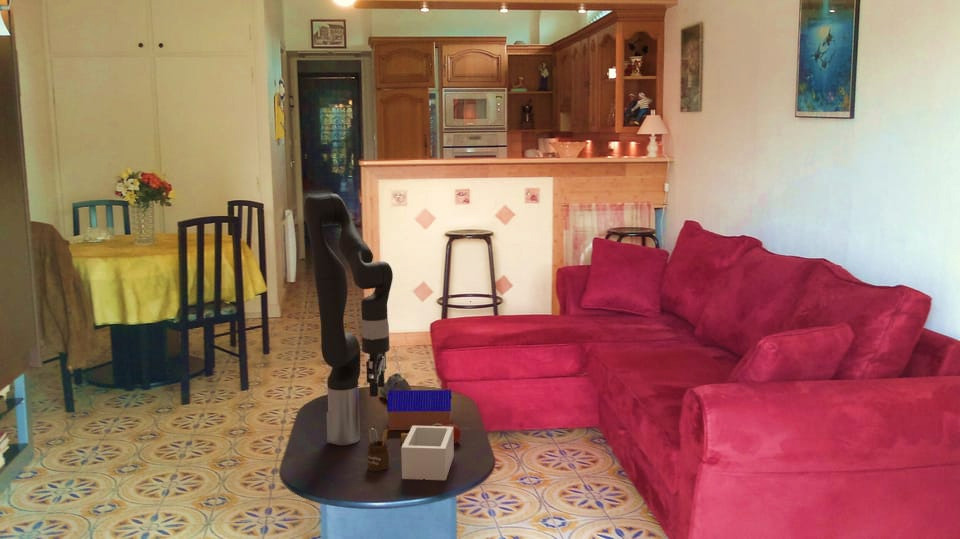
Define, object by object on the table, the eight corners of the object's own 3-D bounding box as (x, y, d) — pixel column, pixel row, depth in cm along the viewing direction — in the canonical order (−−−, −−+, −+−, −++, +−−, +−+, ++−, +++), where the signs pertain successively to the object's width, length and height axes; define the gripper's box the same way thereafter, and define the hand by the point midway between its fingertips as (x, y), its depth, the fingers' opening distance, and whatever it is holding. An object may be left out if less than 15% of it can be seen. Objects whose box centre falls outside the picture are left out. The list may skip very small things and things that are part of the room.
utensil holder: (377, 461, 239) (376, 421, 237) (394, 466, 236) (393, 426, 234) (363, 468, 234) (362, 427, 232) (379, 473, 231) (378, 432, 229)
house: (450, 431, 264) (450, 395, 262) (387, 431, 264) (386, 396, 262) (451, 418, 276) (451, 384, 274) (391, 418, 276) (390, 384, 274)
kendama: (401, 452, 250) (460, 445, 249) (398, 431, 250) (457, 424, 249) (405, 447, 257) (462, 440, 256) (402, 427, 258) (460, 419, 256)
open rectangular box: (402, 478, 227) (401, 447, 226) (413, 454, 244) (412, 425, 243) (445, 480, 226) (445, 448, 225) (453, 456, 243) (453, 426, 241)
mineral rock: (378, 395, 299) (377, 368, 298) (408, 393, 302) (407, 366, 300) (383, 406, 287) (383, 378, 285) (414, 404, 290) (414, 376, 288)
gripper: (367, 328, 236) (369, 383, 239) (355, 340, 222) (358, 399, 225) (393, 328, 235) (395, 384, 238) (383, 340, 221) (385, 399, 224)
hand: (377, 391), depth 231 cm, fingers open, 8 cm apart
